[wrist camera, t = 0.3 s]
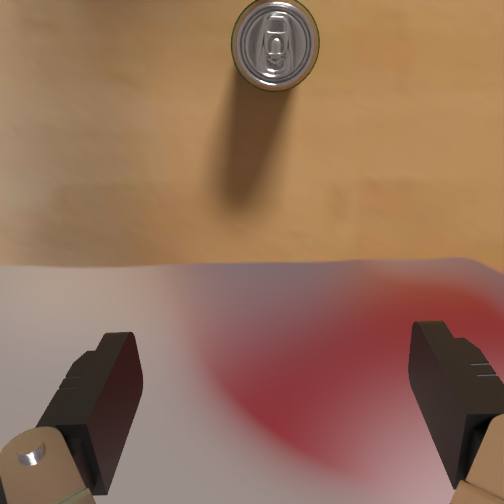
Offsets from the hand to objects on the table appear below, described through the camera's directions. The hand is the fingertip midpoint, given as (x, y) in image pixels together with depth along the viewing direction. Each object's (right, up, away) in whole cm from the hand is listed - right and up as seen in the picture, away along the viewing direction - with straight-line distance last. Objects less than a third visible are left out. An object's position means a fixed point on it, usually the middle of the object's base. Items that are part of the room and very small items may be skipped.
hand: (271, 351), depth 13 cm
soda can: (+1, +19, +23) cm, 30 cm away
